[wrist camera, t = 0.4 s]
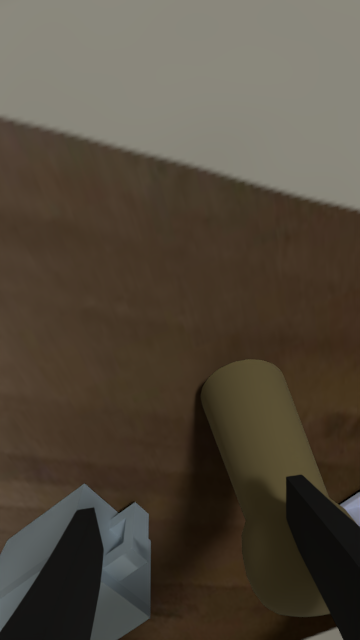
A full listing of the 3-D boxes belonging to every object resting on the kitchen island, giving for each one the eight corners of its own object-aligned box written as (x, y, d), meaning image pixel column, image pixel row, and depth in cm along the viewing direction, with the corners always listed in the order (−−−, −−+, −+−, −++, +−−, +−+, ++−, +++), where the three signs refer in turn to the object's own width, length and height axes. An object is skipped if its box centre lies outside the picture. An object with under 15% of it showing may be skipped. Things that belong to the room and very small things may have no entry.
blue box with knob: (173, 525, 24) (178, 598, 19) (78, 591, 25) (60, 677, 20) (108, 465, 22) (95, 531, 17) (7, 540, 23) (-33, 622, 18)
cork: (290, 406, 21) (398, 610, 12) (213, 429, 22) (261, 640, 13) (278, 347, 18) (415, 565, 9) (188, 376, 19) (229, 608, 9)
